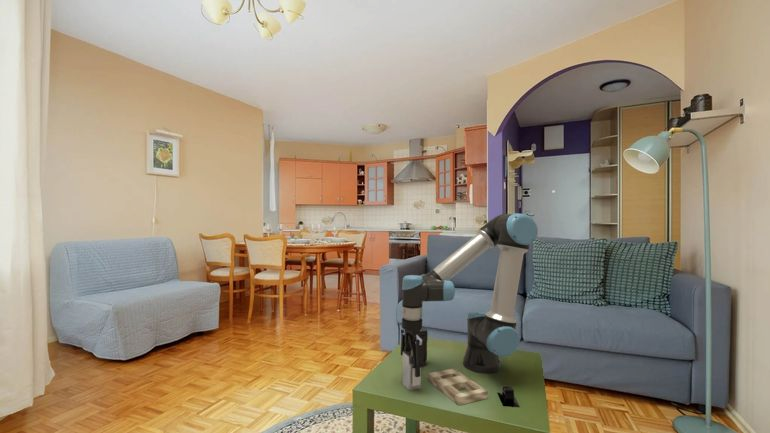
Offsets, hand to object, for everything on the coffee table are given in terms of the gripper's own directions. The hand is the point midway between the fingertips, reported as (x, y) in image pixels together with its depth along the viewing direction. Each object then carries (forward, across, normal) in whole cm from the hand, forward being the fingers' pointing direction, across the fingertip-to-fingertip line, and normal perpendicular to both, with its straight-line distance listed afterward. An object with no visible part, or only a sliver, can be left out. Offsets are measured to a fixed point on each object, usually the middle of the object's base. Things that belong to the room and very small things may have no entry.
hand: (411, 380), depth 128 cm
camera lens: (+2, -17, +12) cm, 21 cm away
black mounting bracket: (+3, +21, +26) cm, 34 cm away
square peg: (+2, 0, 0) cm, 2 cm away
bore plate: (+2, +8, +14) cm, 16 cm away
